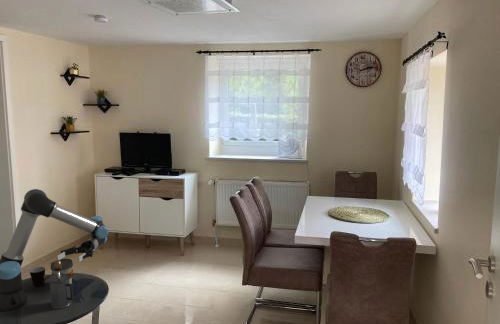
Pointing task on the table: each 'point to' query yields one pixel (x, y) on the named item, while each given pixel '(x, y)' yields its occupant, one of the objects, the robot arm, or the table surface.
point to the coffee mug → (38, 276)
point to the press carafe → (60, 290)
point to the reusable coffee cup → (64, 268)
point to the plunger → (57, 267)
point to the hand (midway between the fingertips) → (68, 259)
